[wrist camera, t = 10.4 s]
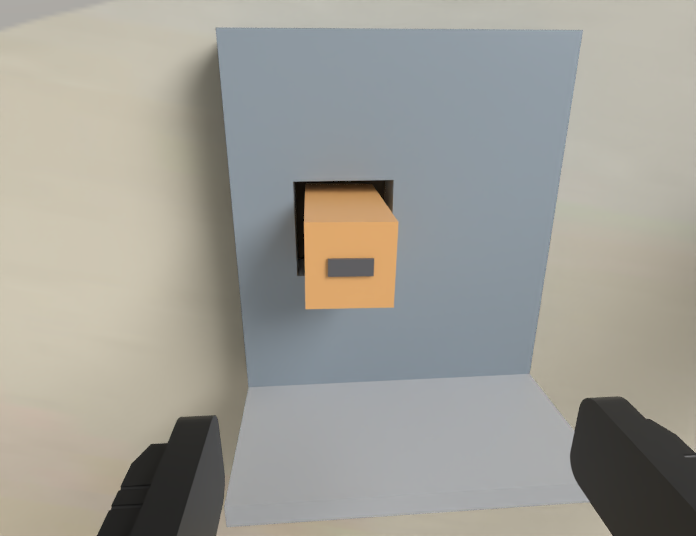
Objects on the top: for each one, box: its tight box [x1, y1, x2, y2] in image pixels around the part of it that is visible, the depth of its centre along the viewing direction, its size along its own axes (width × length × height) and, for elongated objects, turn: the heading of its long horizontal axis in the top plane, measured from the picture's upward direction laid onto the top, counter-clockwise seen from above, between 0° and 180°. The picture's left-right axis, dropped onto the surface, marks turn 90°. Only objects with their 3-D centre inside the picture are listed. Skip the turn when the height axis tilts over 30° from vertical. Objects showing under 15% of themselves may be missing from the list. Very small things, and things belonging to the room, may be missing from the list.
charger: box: [304, 184, 399, 309], centre depth 25 cm, size 4×4×9 cm
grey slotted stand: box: [216, 28, 590, 527], centre depth 24 cm, size 18×21×12 cm
